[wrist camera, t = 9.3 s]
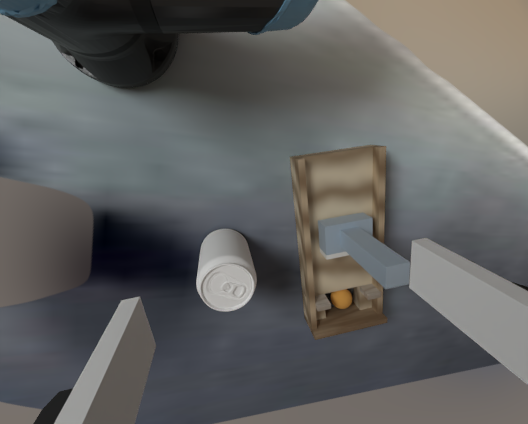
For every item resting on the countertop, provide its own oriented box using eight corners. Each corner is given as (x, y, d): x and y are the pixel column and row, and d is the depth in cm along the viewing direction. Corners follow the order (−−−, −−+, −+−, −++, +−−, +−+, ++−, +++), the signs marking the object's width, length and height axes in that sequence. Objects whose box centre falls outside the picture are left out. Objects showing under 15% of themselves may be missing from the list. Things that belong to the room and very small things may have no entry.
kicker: (317, 220, 44) (366, 263, 30) (362, 212, 45) (429, 250, 31) (319, 251, 46) (366, 306, 32) (362, 243, 47) (426, 292, 33)
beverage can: (213, 219, 44) (212, 251, 33) (256, 238, 46) (269, 273, 35) (192, 260, 45) (185, 303, 34) (235, 276, 48) (241, 321, 36)
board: (289, 156, 43) (301, 160, 37) (370, 144, 45) (392, 147, 39) (304, 317, 53) (315, 339, 47) (369, 302, 55) (387, 322, 49)
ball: (331, 289, 49) (337, 311, 48) (352, 284, 50) (358, 307, 48) (325, 289, 53) (330, 310, 52) (344, 285, 53) (350, 306, 52)
